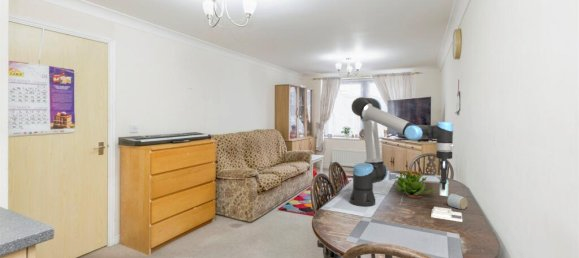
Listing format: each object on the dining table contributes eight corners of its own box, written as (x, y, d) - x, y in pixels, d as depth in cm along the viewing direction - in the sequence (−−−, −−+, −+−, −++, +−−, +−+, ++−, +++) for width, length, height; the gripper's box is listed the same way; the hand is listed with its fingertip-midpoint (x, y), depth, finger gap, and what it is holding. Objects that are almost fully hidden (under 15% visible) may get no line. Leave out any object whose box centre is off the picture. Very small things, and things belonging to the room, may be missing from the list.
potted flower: (437, 195, 196) (438, 169, 195) (433, 204, 176) (433, 175, 175) (398, 189, 209) (399, 165, 209) (390, 197, 189) (391, 170, 189)
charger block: (439, 195, 155) (439, 178, 155) (439, 193, 158) (439, 176, 158) (448, 196, 153) (448, 178, 153) (448, 194, 156) (448, 177, 156)
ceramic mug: (460, 210, 163) (461, 197, 163) (446, 206, 170) (447, 193, 170) (471, 208, 168) (472, 195, 168) (457, 204, 176) (458, 192, 175)
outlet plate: (431, 217, 153) (431, 212, 153) (432, 210, 163) (432, 205, 163) (462, 222, 146) (462, 216, 146) (461, 214, 157) (461, 210, 156)
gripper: (452, 152, 146) (451, 199, 146) (452, 149, 161) (451, 191, 161) (435, 152, 149) (434, 197, 150) (437, 149, 164) (436, 190, 165)
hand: (443, 194), depth 156 cm, fingers closed on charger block, 4 cm apart
